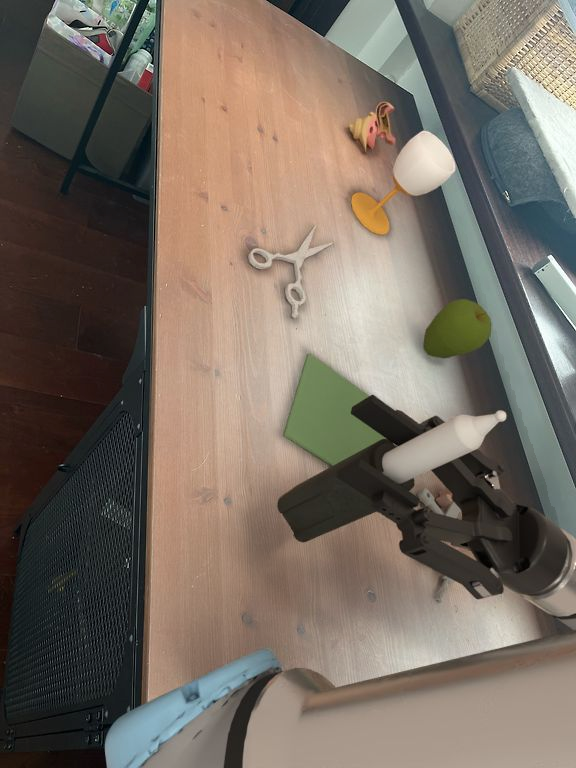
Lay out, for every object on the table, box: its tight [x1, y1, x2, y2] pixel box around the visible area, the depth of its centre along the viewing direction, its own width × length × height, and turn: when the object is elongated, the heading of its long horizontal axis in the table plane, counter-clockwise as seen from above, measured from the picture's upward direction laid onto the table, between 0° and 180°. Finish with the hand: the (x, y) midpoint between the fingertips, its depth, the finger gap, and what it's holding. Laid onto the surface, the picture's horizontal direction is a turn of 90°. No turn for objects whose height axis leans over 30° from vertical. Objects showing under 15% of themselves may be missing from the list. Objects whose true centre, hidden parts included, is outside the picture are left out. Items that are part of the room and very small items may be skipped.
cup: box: [350, 130, 456, 236], centre depth 104 cm, size 9×9×16 cm
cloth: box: [283, 352, 386, 467], centre depth 81 cm, size 14×16×1 cm
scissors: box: [247, 224, 335, 319], centre depth 90 cm, size 11×1×20 cm
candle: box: [276, 409, 507, 543], centre depth 54 cm, size 5×5×25 cm
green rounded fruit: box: [422, 298, 493, 359], centre depth 98 cm, size 9×8×12 cm
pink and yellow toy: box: [349, 101, 397, 154], centre depth 119 cm, size 9×10×10 cm
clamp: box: [417, 487, 461, 605], centre depth 81 cm, size 15×2×10 cm
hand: (355, 434), depth 51 cm, fingers closed on candle, 6 cm apart
